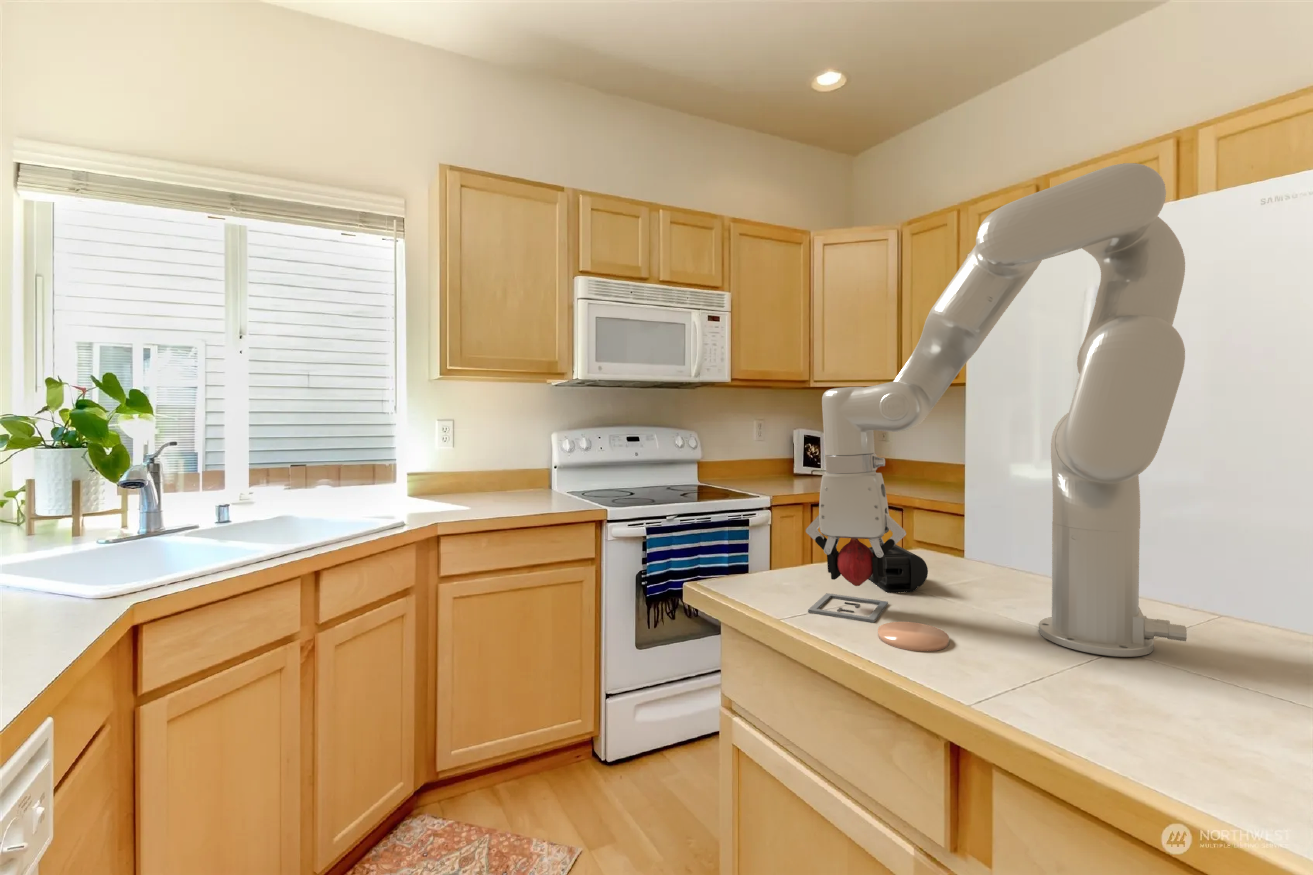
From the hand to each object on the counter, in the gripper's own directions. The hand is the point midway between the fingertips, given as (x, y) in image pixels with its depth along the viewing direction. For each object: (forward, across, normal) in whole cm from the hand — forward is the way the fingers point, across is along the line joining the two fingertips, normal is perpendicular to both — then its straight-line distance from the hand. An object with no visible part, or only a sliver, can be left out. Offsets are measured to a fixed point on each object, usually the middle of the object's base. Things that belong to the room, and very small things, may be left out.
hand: (856, 578), depth 97 cm
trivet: (+5, -10, +9) cm, 14 cm away
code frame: (+5, +2, 0) cm, 5 cm away
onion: (+1, 0, 0) cm, 1 cm away
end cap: (+5, -2, -17) cm, 18 cm away
